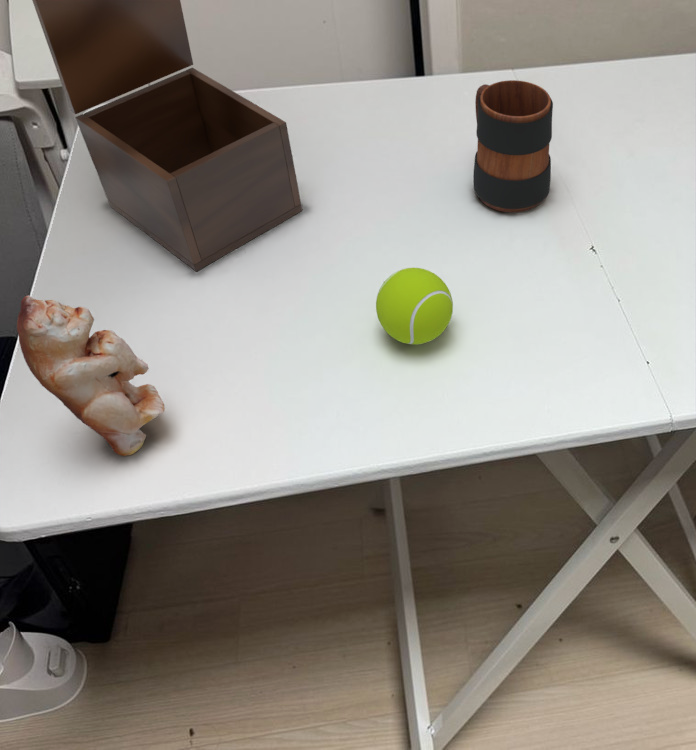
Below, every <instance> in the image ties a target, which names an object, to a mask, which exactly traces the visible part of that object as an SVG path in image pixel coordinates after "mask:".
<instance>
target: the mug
mask: <svg viewBox="0 0 696 750" xmlns="http://www.w3.org/2000/svg"><path fill="white" fill-rule="evenodd" d="M474 101H475V118H476V131H475V132H476V133H475V134H476V138H477V147H476V148H477V149H476V150H477V151H476V152H475V155H474V163H473V175H472V176H473V177H472V178H473V179H472V180H473V181H472V183H473V190H474V192H475V194H476V196H477V197H479V200H480V201H481V202H482V204H484V205H485V206H487V207H488V208H490V209H493V210H495V211H498V212H502V213H510V214H511V213H515V214H516V213H523V212H527V211H530V210H533V209H534V208H536V207H538V206H539V205H540V204H541V203H542V202H543V201H544V200H545V199H546V198H547V197H548V195H549V193H550V189H551V177H552V159H551V155H550V143H551V141H552V138H553V112H554V111H553V110H554V109H553V108H554V102H553V98H551V96H550V94H549V93H548V91H547V90H546V89H544V88H543V87H541V85H538V84H535V83H533V82H529V81H524V80H517V79H515V80H514V79H513V80H510V79H509V80H501V81H497V82H494V83H492V84H490V85H489V84H485V83H484V84H482V85H480V86H479V87H477V90H476V94H475V100H474Z"/></svg>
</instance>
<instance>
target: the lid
mask: <svg viewBox="0 0 696 750" xmlns="http://www.w3.org/2000/svg"><path fill="white" fill-rule="evenodd" d="M32 3H33V6H34V9H35V12H36V15H37V18H38V20H39V24H40V27H41V30H42V32H43V36H44V37H45V41H46V44H47V46H48V49H49V53H50V55H51V58H52V60H53V64H54V67H55V69H56V72H57V75H58V78H59V81H60V84H61V86H62V89H63V92H64V95H65V98H66V101H67V103H68V106H69V108H70V111H71V112H72V113H73V114H74V115H79V114H80V113H83V112H85V111H87V110H90V109H92V108H94V107H96V106H99V105H102V104H104V103H107V102H108V101H111V100H113V99H115V98H118V97H121V96H122V95H125V94H128V93H130V92H132V91H134V90H136V89H140V88H142V87H144V86H146V85H150V84H151V83H154V82H155V81H158V80H160V79H161V80H162V79H164V78H166V77H167V76H168V77H169V76H170V75H172V74H174V73H177V72H181V70H184V69H187V68H189V67H192V66H193V65H194V61H193V56H192V51H191V47H190V42H189V36H188V32H187V27H186V22H185V18H184V12H183V8H182V3H181V0H32Z"/></svg>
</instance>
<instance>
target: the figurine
mask: <svg viewBox="0 0 696 750" xmlns="http://www.w3.org/2000/svg"><path fill="white" fill-rule="evenodd" d="M94 321H95V319H94V316H93V315H92V313H91V311H90V309H89V308H87V307H83V306H78V307H73V306H70V305H66V304H62V303H61V302H59V301H57V300H54V299H46V300H45V299H44V300H43V299H35V298H34V297H32V296H30V294H29V295H26V296H24V297H23V298H22V299H21V301H20V309H19V313H18V314H17V321H16V330H17V334H18V341H19V346H20V350H21V353H22V356H23V358H24V361H25V363H26V366H27V368H28V369H29V371H30V373H31V374H32V375H33V376H34V378H35V379H36V380H37V381H38V382H39V384H40V385H41V386H42V387H43V388H44V389H45V390H47V392H49V393H50V394H52V395H53V396H55V397H56V398H57V399H58V400H59V401H60V402H61V403H62V404H63V405H64V407H66V408H67V409H68V410H69V411H70V412H71V413H72V414H73V415H74V416H75V418H76V419H78V420H79V421H80V422H82V423H83V424H84V425H85V426H87V427H88V428H90V429H91V430H92V431H93V432H95V433H96V434H98V435H99V436H100V437H102V438H103V440H105V442H107V444H108V445H109V446H110V447H111V448H112V450H113V452H114V453H115V454H117V455H119V456H121V457H126V456H131V455H133V454H135V453H136V452H137V451H139V450H140V449H141V448H142V447H143V445H144V443H145V440H146V438H147V434H146V433H144V432H143V431H142V430H141V428H142V427H143V426H144V425H146V424H147V423H149V422H151V421H152V420H153V419H155V418H157V417H158V416H160V415H161V414H163V413H164V412H165V403H164V401H163V399H162V397H161V396H160V394H159V391H158V389H156V387H155V386H154V385H153V384H149V383H146V384H143V385H139V386H135V385H134V384H132V383H131V382H130V381H131V380H133V379H134V378H135V377H136V376H138V375H139V376H140V375H143V376H144V375H145V374H147V372H149V369H150V368H149V365H148V363H146V362H145V360H143V359H141V358H139V356H137V355H136V354H135V352H134V351H133V349H132V348H131V346H130V345H129V344H128V343H127V342H126V341H125V340H124V339H123V338H122V337H120V336H119V335H118V334H117V333H116V332H114V331H113V330H111V329H101V330H97V331H94V333H92V334H91V336H90V333H91V329H92V326H93V324H94Z"/></svg>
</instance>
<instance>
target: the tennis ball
mask: <svg viewBox="0 0 696 750" xmlns="http://www.w3.org/2000/svg"><path fill="white" fill-rule="evenodd" d="M375 311H376V316H377V318H378V321H379V324H380V325H381V327H382V328H383V330H384V331H385V332H386V333H387V334H388V335H389V336H390V337H391V338H392V339H394V340H396V341H398V342H399V343H403V344H407V345H422V344H426V343H429V342H431V341H433V340H435V339H437V338H438V337H439V336H440V335H441V334H442V333H444V331H445V330H446V329H447V328H448V326H449V324H450V322H451V320H452V315H453V311H454V301H453V296H452V294H451V291H450V288H449V287H448V286H447V284H446V282H444V280H443V279H442V278H441V277H440V276H439V275H437V274H435V273H434V272H432V271H431V270H428V269H425V268H421V267H406V268H401V269H400V270H398V271H396V272H394V273H392V274H391V275H390V276H388V277H387V278H386V279H385V280H384V282H383V283H382V285H381V286H380V288H379V290H378V292H377V295H376V299H375Z"/></svg>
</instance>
